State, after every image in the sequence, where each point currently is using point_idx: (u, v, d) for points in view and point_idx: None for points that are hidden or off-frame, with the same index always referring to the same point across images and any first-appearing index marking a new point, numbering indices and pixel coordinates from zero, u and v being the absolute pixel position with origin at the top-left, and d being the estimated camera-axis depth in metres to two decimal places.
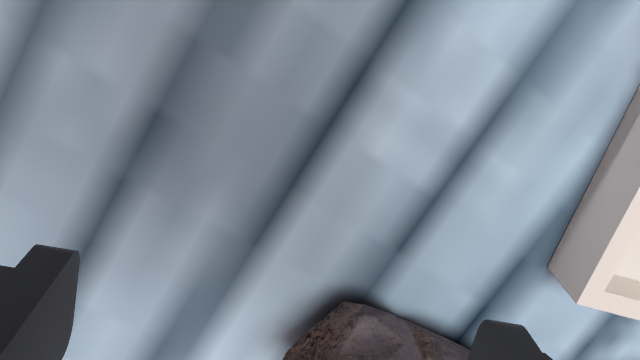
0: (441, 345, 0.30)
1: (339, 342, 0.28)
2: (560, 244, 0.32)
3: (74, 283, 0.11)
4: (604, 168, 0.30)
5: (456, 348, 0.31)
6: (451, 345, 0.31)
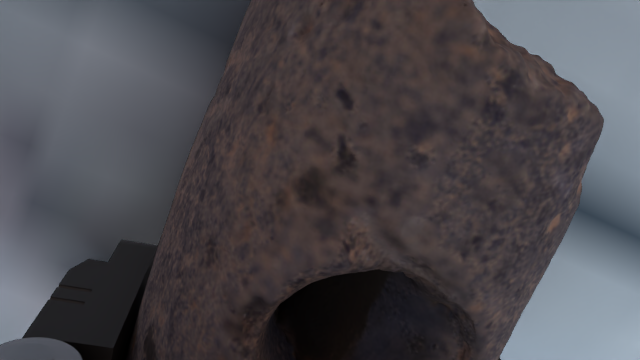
0: None
1: None
2: None
3: None
4: None
5: None
6: None
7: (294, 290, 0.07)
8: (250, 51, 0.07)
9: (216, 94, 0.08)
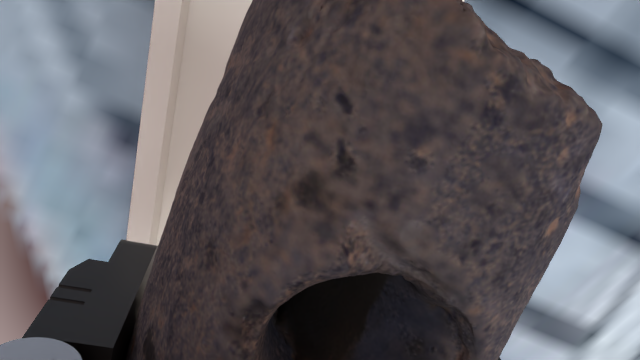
0: None
1: None
2: None
3: None
4: None
5: None
6: None
7: (293, 293, 0.07)
8: (249, 55, 0.07)
9: (216, 97, 0.08)
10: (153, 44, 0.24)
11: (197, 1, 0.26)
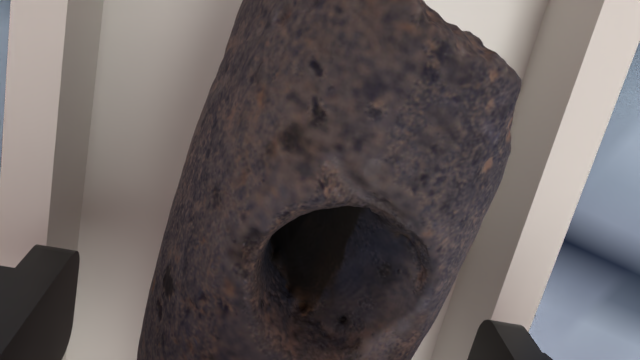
0: None
1: None
2: None
3: (74, 283, 0.11)
4: None
5: None
6: None
7: (282, 222, 0.08)
8: (243, 36, 0.09)
9: (217, 73, 0.10)
10: (11, 109, 0.12)
11: (116, 19, 0.14)
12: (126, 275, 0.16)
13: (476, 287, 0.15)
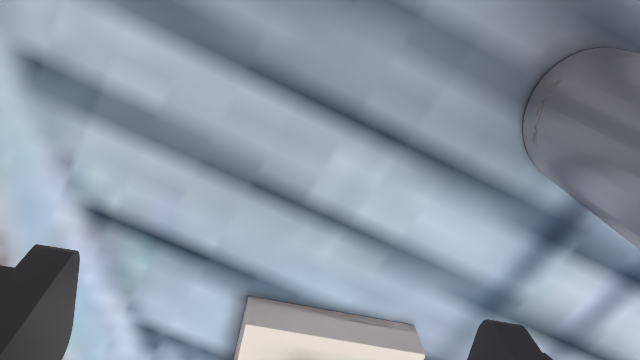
0: None
1: None
2: (269, 300, 0.42)
3: (74, 283, 0.11)
4: (334, 315, 0.42)
5: None
6: None
7: None
8: None
9: None
10: None
11: None
12: None
13: None
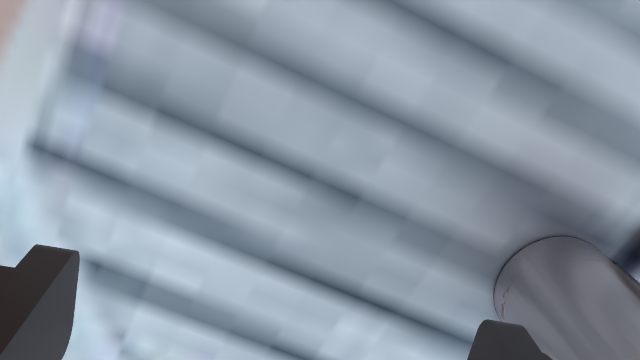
0: None
1: None
2: None
3: (74, 283, 0.11)
4: None
5: None
6: None
7: None
8: None
9: None
10: None
11: None
12: None
13: None
